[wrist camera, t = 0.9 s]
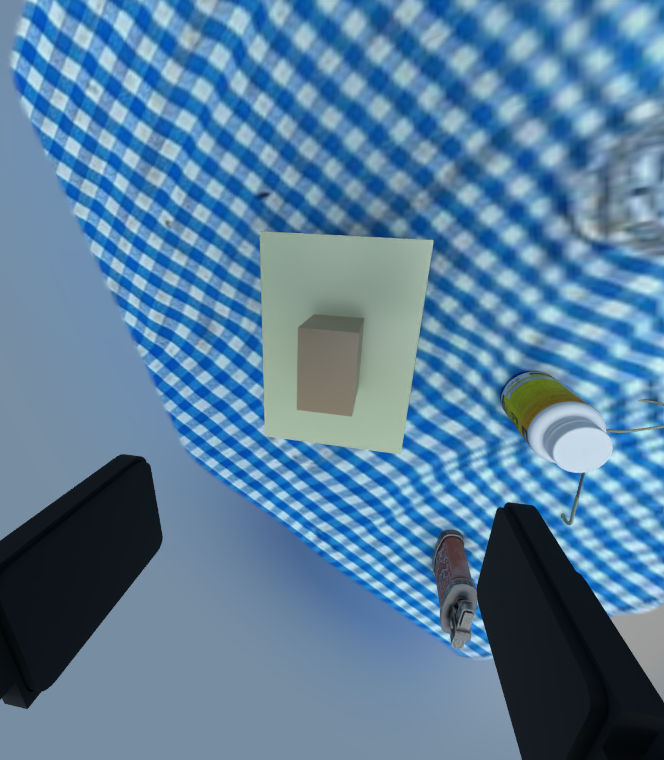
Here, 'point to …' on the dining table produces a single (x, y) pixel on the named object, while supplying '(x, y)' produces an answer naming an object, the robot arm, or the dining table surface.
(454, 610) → the lighter
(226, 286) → the dining table surface
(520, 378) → the supplement bottle
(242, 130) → the dining table surface
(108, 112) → the dining table surface
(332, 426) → the lid
